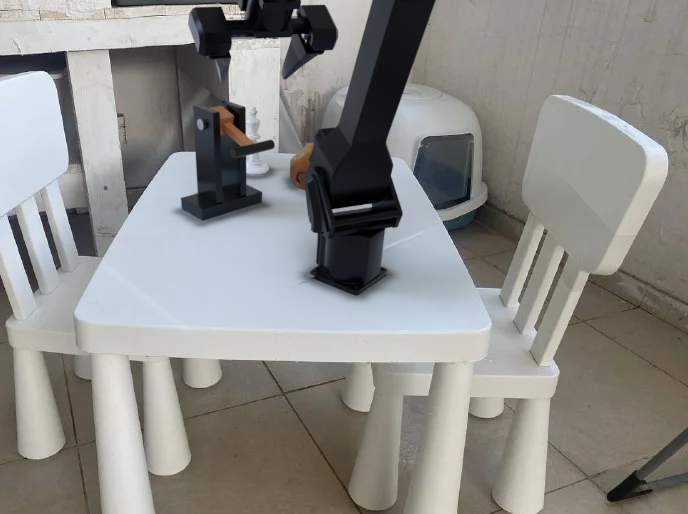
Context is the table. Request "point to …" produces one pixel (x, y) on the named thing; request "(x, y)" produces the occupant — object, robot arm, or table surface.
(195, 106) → the stand
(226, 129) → the brown black t-shaped piece
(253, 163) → the chess piece
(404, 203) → the table surface
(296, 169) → the bread roll
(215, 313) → the table surface
